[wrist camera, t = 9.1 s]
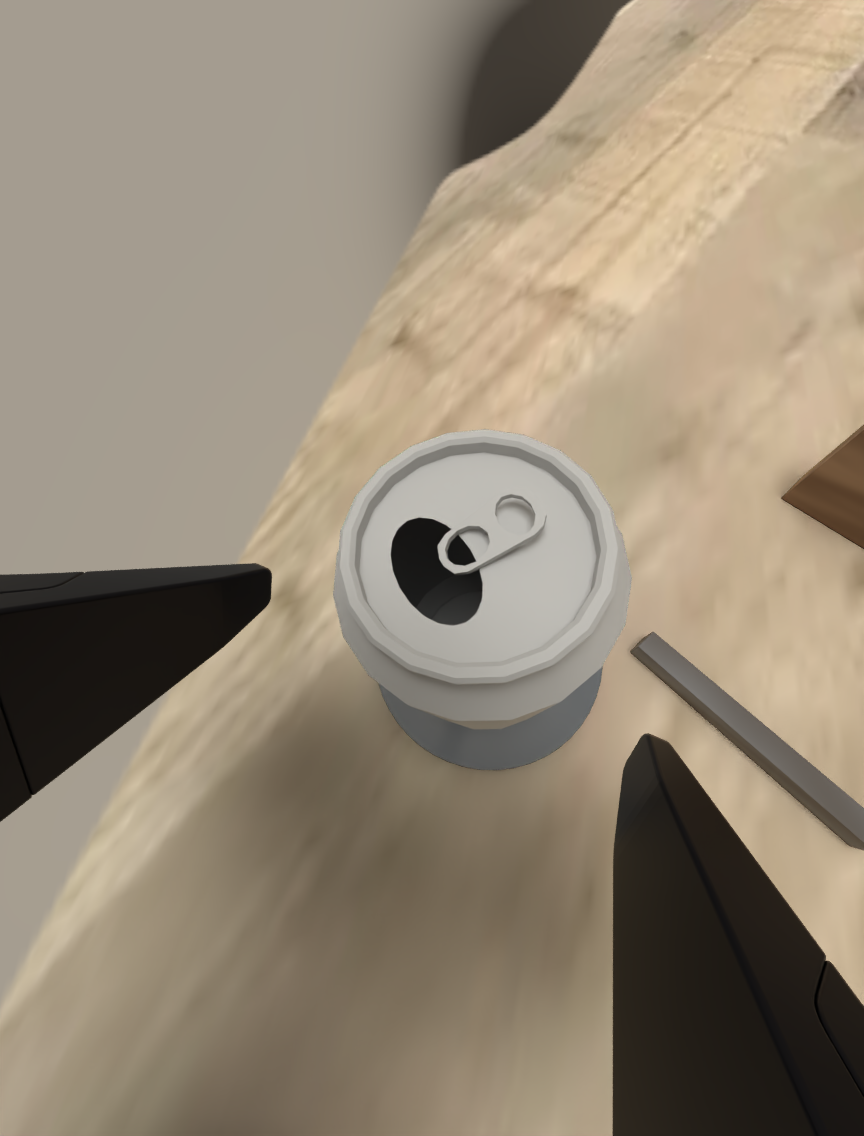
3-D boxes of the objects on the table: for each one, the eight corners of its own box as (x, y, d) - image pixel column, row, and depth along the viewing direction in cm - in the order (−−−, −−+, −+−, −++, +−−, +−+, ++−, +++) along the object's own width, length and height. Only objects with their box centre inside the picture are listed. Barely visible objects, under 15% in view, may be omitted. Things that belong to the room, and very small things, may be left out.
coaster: (571, 811, 17) (573, 813, 17) (342, 717, 20) (339, 717, 19) (620, 578, 20) (622, 575, 20) (420, 526, 23) (419, 523, 23)
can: (383, 620, 21) (263, 490, 10) (508, 552, 21) (525, 357, 10) (452, 762, 18) (390, 801, 7) (595, 679, 18) (748, 593, 7)
